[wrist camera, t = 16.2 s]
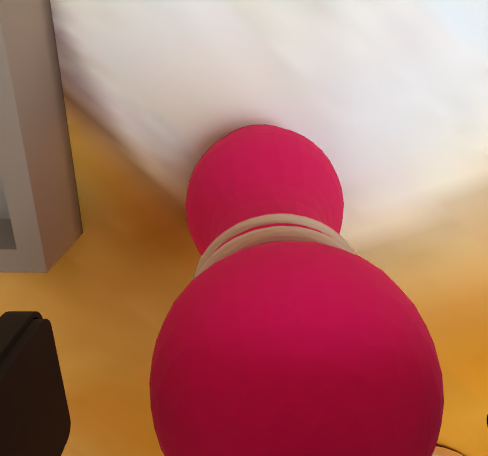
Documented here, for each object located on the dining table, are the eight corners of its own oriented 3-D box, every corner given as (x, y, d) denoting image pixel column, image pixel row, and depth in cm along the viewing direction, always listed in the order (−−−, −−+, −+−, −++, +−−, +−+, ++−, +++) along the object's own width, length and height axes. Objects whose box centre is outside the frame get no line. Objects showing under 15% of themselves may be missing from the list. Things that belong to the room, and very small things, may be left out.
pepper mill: (185, 122, 23) (-60, 418, 4) (321, 107, 22) (713, 348, 4) (205, 245, 25) (108, 761, 7) (326, 233, 25) (571, 732, 7)
